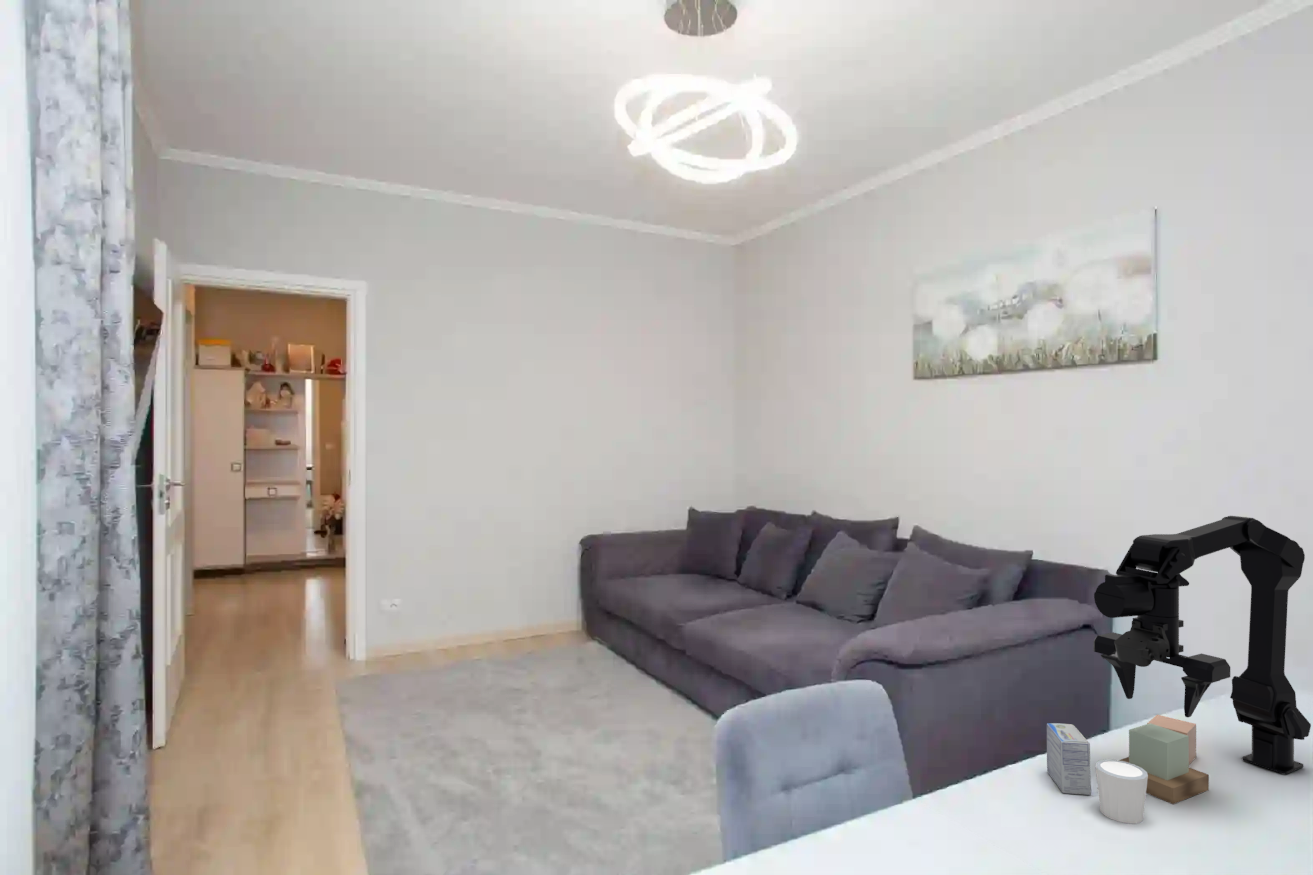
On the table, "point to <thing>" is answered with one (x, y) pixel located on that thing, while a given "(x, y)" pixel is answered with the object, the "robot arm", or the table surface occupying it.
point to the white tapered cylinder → (1121, 790)
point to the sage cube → (1159, 751)
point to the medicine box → (1068, 759)
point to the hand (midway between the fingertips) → (1157, 707)
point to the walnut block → (1177, 785)
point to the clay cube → (1179, 730)
